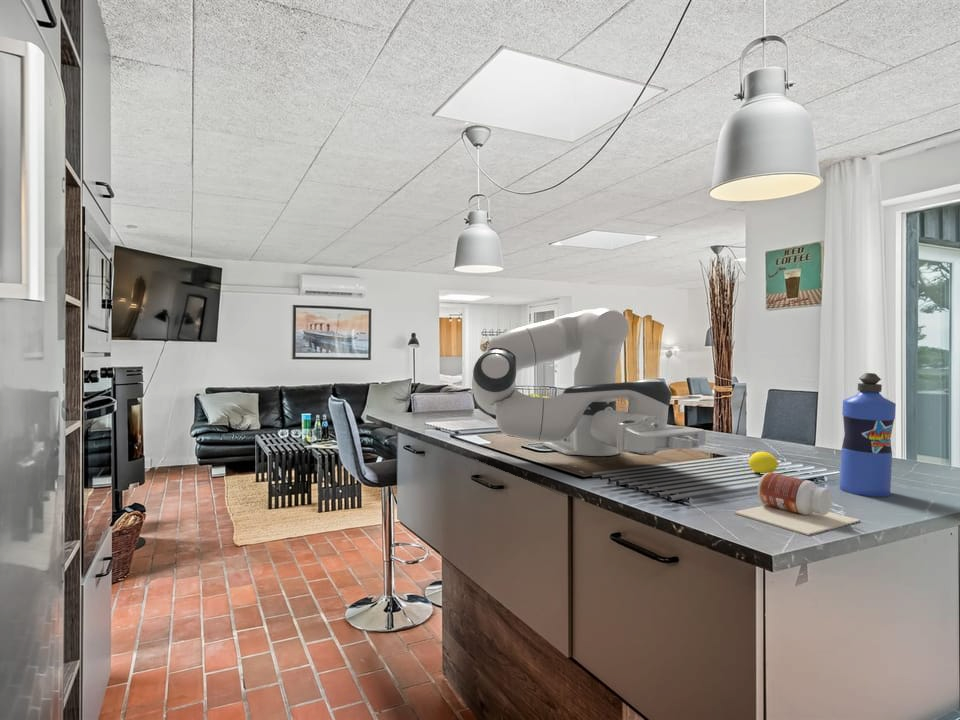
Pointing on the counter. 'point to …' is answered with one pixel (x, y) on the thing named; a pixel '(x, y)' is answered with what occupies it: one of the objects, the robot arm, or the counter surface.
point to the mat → (797, 519)
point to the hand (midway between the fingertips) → (694, 444)
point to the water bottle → (867, 440)
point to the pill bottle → (793, 494)
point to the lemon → (763, 462)
